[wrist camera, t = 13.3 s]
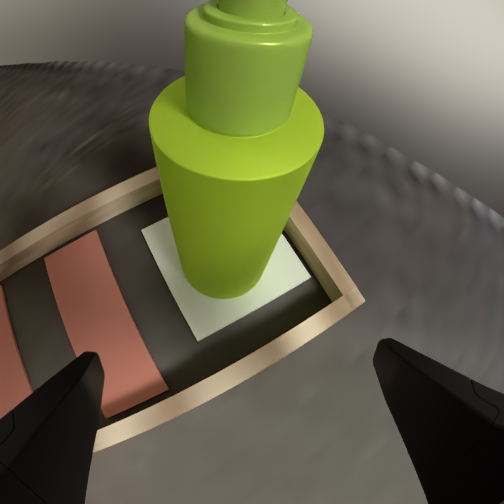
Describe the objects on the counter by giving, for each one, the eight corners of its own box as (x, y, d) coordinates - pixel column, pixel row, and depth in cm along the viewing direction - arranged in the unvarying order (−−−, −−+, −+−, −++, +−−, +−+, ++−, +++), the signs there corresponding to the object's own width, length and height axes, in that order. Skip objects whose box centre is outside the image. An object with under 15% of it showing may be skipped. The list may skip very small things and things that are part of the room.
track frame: (-53, 488, 8) (-64, 490, 6) (-98, 344, 13) (-109, 340, 11) (353, 307, 21) (365, 301, 19) (241, 148, 26) (244, 133, 24)
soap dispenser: (184, 208, 22) (168, -92, 4) (273, 234, 22) (387, -62, 4) (155, 279, 20) (30, -58, 2) (252, 310, 20) (434, -47, 2)
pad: (197, 341, 19) (197, 341, 19) (142, 232, 22) (141, 229, 21) (309, 278, 22) (310, 276, 21) (245, 185, 24) (246, 182, 24)
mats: (14, 453, 13) (12, 454, 13) (-32, 309, 17) (-34, 308, 17) (169, 389, 18) (168, 389, 17) (97, 231, 21) (95, 229, 21)
